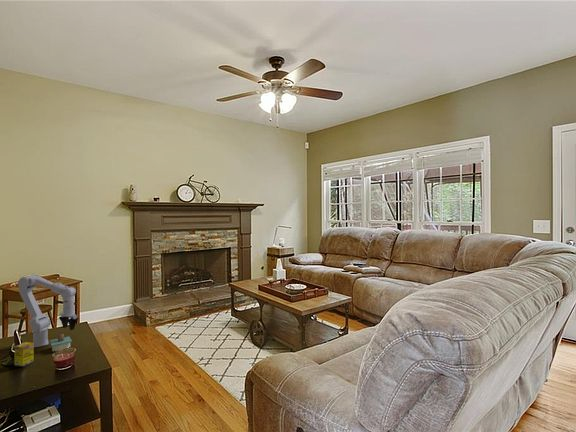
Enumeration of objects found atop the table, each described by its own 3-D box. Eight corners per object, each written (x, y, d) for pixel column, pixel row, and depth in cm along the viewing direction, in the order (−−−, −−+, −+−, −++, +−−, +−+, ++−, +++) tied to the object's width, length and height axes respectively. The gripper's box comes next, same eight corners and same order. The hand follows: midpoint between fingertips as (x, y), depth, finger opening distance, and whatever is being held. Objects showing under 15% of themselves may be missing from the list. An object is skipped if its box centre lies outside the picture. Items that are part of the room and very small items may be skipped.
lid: (49, 341, 195) (49, 333, 195) (69, 337, 201) (69, 329, 201) (51, 346, 187) (51, 338, 187) (72, 342, 194) (72, 334, 194)
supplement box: (23, 367, 170) (23, 347, 170) (14, 366, 171) (14, 346, 171) (34, 362, 176) (34, 342, 176) (25, 361, 177) (25, 341, 177)
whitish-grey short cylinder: (51, 347, 195) (51, 341, 195) (69, 344, 201) (69, 337, 201) (52, 352, 188) (52, 346, 188) (70, 349, 194) (70, 342, 194)
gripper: (55, 307, 201) (55, 328, 201) (68, 310, 194) (68, 332, 194) (67, 304, 207) (67, 325, 207) (80, 307, 200) (80, 328, 200)
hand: (68, 328), depth 201 cm, fingers open, 7 cm apart
